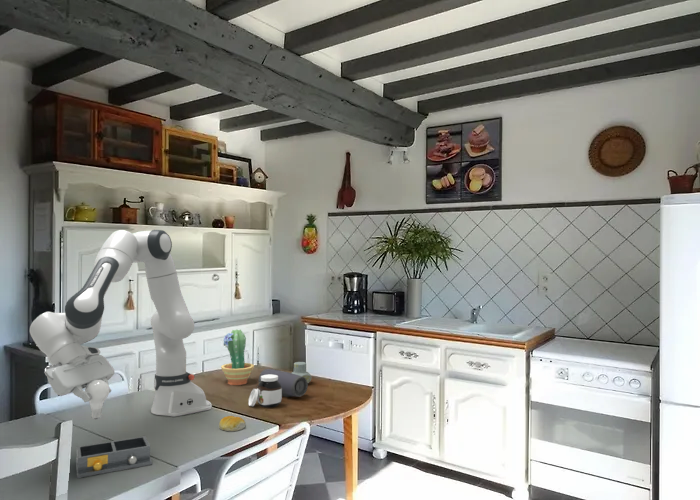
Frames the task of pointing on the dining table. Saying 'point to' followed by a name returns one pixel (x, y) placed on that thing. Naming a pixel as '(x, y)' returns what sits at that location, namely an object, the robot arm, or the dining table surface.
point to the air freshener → (301, 370)
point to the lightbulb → (97, 396)
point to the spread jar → (267, 392)
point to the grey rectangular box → (112, 456)
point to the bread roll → (231, 423)
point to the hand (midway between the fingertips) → (99, 396)
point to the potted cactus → (236, 359)
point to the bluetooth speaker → (288, 382)
